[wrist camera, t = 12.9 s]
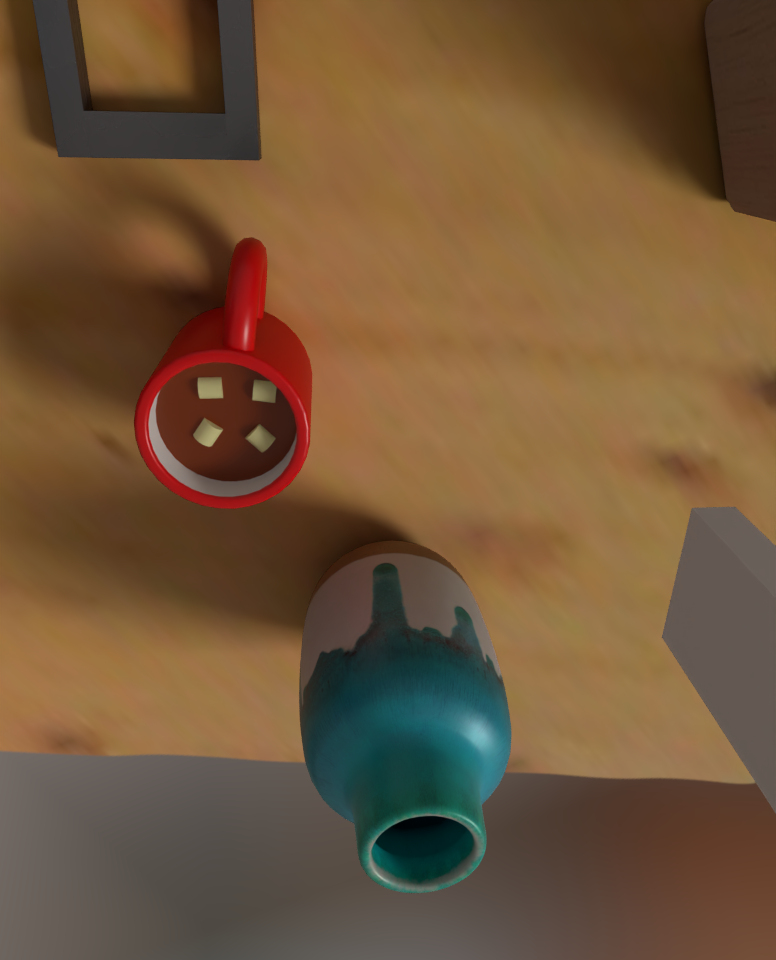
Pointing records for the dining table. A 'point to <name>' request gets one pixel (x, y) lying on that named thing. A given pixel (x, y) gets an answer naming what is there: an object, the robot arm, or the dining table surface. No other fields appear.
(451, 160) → the dining table surface
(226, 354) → the mug
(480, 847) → the vase
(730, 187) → the block
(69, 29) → the grey slotted plate
